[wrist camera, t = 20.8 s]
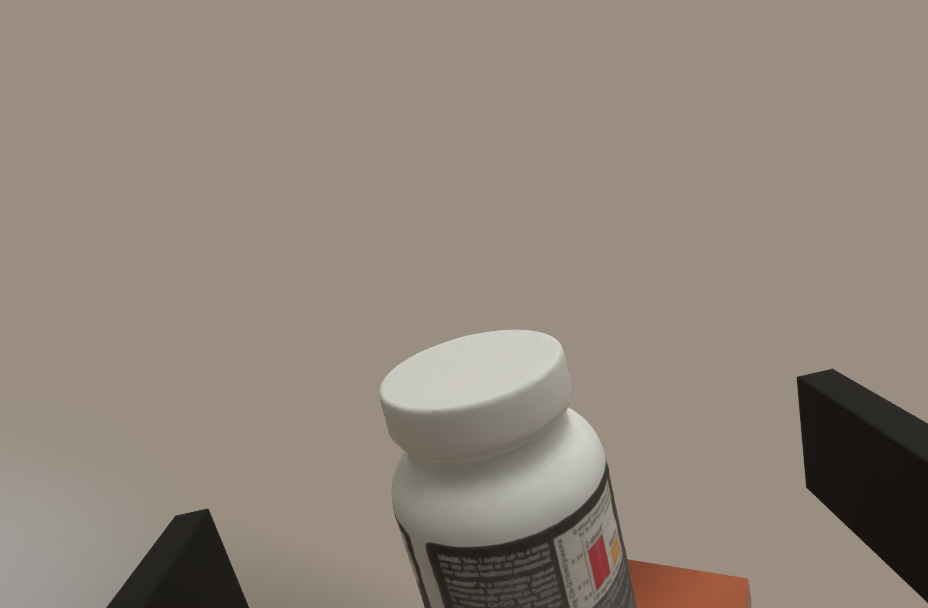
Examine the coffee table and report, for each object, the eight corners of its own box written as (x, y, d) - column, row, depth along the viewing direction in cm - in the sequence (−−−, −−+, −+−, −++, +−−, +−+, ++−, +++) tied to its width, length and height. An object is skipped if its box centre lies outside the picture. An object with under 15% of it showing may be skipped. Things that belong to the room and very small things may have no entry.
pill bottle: (678, 633, 17) (626, 321, 14) (593, 827, 13) (498, 439, 10) (519, 575, 21) (455, 319, 18) (413, 712, 16) (311, 405, 14)
